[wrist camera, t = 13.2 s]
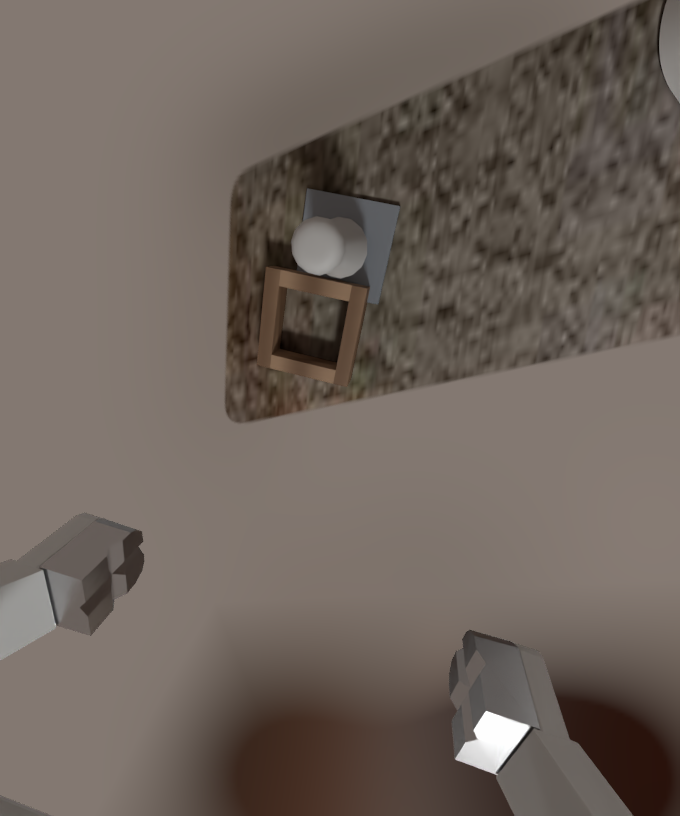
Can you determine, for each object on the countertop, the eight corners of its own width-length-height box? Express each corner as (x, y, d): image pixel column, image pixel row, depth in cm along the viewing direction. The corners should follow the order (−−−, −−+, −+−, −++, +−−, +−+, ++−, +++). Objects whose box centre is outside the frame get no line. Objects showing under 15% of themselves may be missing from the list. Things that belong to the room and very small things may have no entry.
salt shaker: (325, 282, 41) (290, 293, 30) (312, 228, 40) (268, 218, 28) (375, 268, 40) (359, 274, 28) (363, 212, 38) (340, 193, 26)
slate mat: (400, 206, 37) (400, 206, 37) (378, 304, 42) (378, 304, 41) (308, 188, 38) (307, 188, 38) (295, 285, 43) (294, 286, 42)
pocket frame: (370, 286, 41) (367, 288, 38) (351, 379, 46) (346, 387, 43) (275, 265, 42) (266, 266, 39) (266, 358, 47) (256, 364, 44)
